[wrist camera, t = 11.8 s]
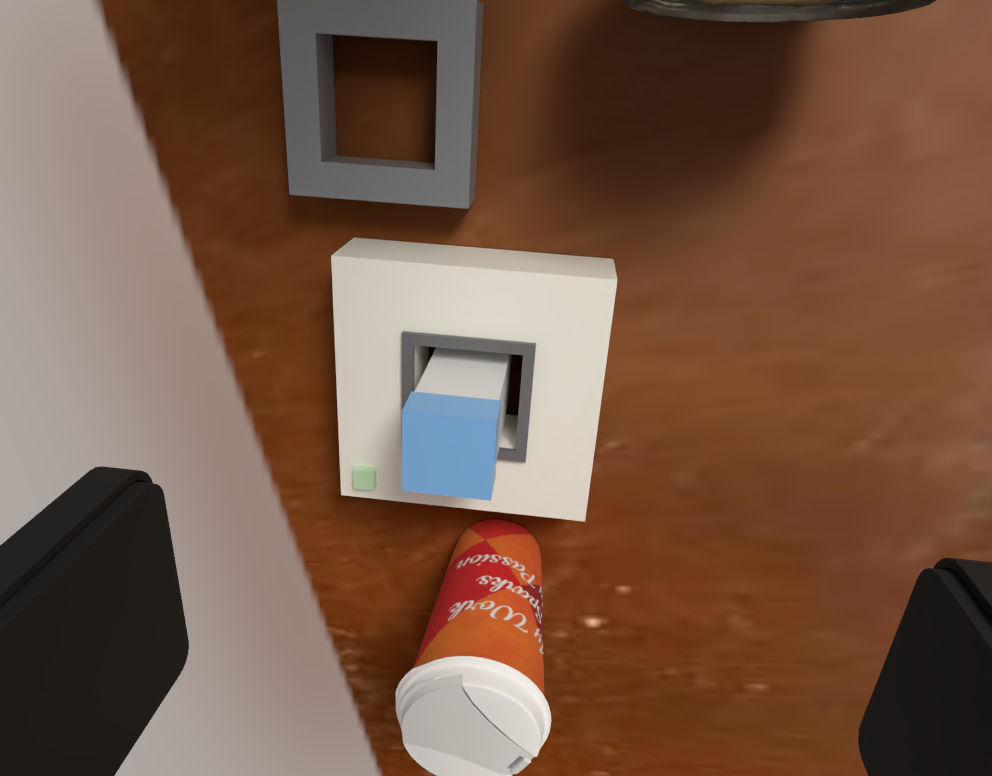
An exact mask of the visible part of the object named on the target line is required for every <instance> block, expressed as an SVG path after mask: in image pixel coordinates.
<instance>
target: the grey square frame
mask: <svg viewBox="0 0 992 776" xmlns="http://www.w3.org/2000/svg"><path fill="white" fill-rule="evenodd" d="M277 8H278V24H279V39H280V55H281V70H282V86H283V101H284V117H285V132H286V148H287V163H288V179H289V194H290V195H299V196H312V197H325V198H338V199H350V200H363V201H376V202H388V203H401V204H414V205H427V206H439V207H452V208H465V209H469V207H470V206H471V205H472V203H473V202H474V201H475V189H476V167H477V144H478V122H479V99H480V77H481V54H482V32H483V9H484V4H483V3H481V2H480V1H478V0H277ZM333 35H338V36H354V37H370V38H386V39H402V40H418V41H434V42H438V43H437V92H436V141H435V163H429V162H415V161H402V160H388V159H375V158H361V157H348V156H337V143H336V115H335V87H334V59H333Z"/></svg>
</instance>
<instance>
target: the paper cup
mask: <svg viewBox="0 0 992 776" xmlns="http://www.w3.org/2000/svg"><path fill="white" fill-rule="evenodd" d="M396 713H397V718H398V721H399V724H400V726H401V730H402V736H403V743H404V746H405V748H406V749H407V751H408V753H409V754H410V755H411V756H412V758H413V759H414V760H415V761H416V762H417V763H418V764H420V765H421V766H422V767H423V768H425V769H426V770H428V771H429V772H431V773H433V774H435V775H437V776H512V774H518V773H519V772H520V771H521V770H522V769H524V768H525V767H526V766H527V765H528V764H529V763H531V759H532V758H533V757H534V756H535V757H536V756H537V755H538V753H539V750H540V748H541V747H542V745H543V744H544V742H545V741H546V739H547V737H548V734H549V731H550V726H551V714H550V709H549V706H548V703H547V701H546V699H545V697H544V652H543V602H542V569H541V555H540V549H539V546H538V543H537V541H536V539H535V538H534V537H533V535H532V534H531V533H530V532H529V531H528V530H527V529H525V528H524V527H523V526H521V525H519V524H517V523H515V522H512V521H509V520H505V519H486V520H482V521H479V522H476V523H474V524H473V525H471V526H470V527H468V528H467V529H466V530H465V531H464V532H463V533H462V535H461V536H460V538H459V540H458V542H457V545H456V547H455V549H454V552H453V555H452V557H451V560H450V563H449V566H448V568H447V571H446V574H445V577H444V580H443V583H442V585H441V588H440V591H439V594H438V597H437V600H436V603H435V606H434V608H433V611H432V614H431V617H430V620H429V623H428V626H427V629H426V632H425V635H424V638H423V640H422V643H421V646H420V649H419V652H418V655H417V658H416V661H415V664H414V667H413V669H412V670H410V671H409V672H408V673H407V674H406V675H405V676H404V677H403V679H402V680H401V681H400V683H399V685H398V687H397V689H396Z"/></svg>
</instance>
